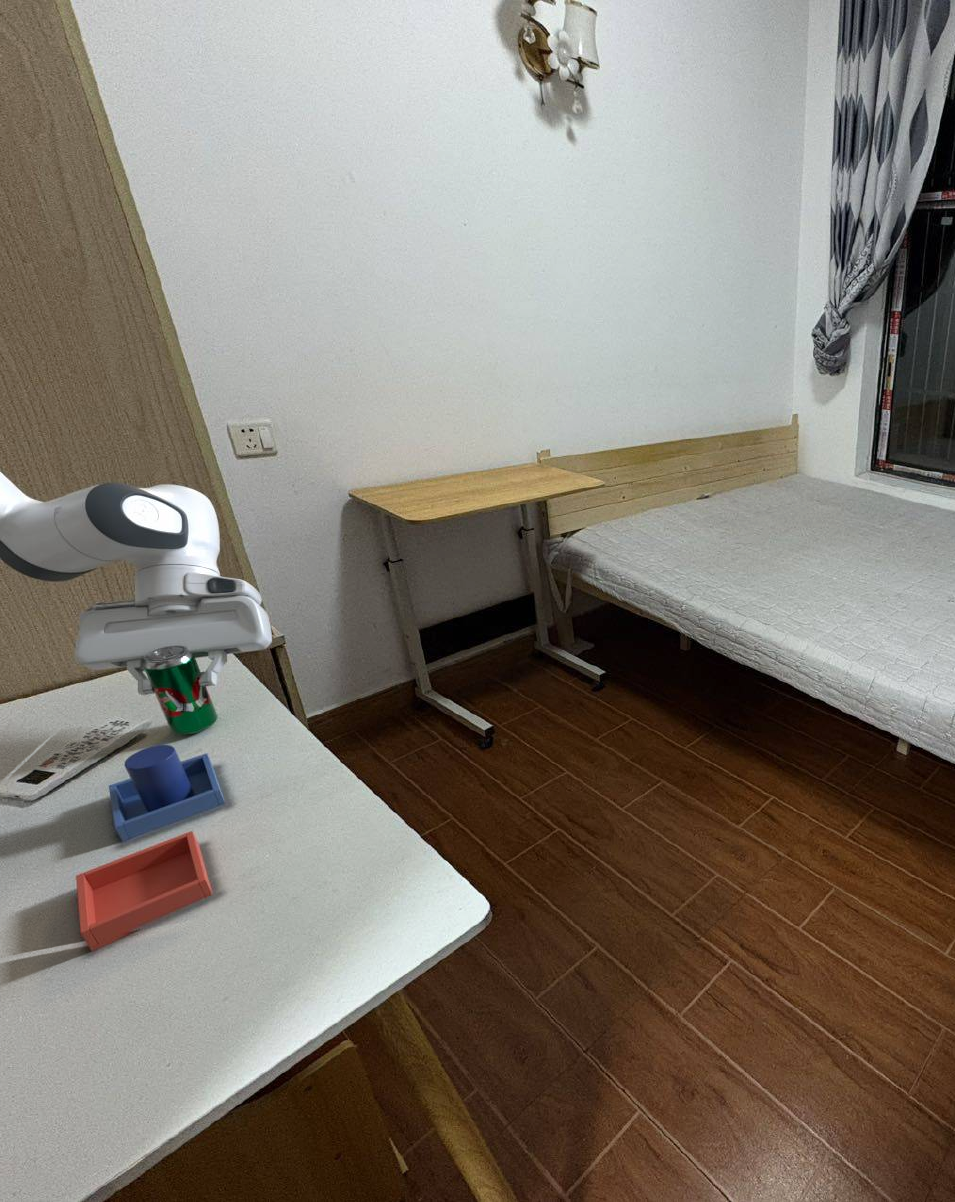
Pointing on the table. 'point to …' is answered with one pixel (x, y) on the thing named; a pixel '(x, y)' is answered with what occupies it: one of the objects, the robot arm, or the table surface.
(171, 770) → the blue solid cylinder
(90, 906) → the red tray
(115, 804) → the blue tray
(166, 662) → the soda can
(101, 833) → the table surface
